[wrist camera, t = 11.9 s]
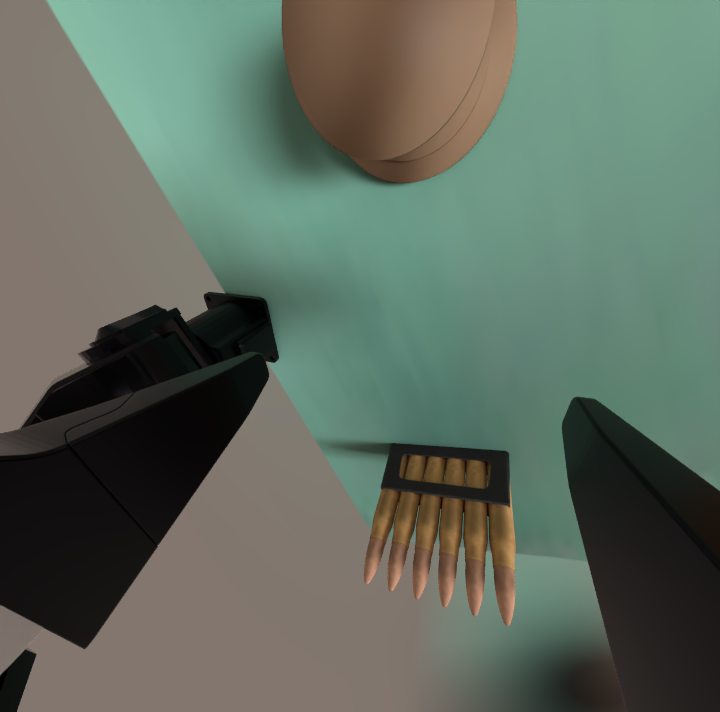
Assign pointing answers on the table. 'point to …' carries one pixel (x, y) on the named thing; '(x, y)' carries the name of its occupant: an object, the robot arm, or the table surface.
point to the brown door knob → (400, 77)
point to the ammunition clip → (447, 519)
